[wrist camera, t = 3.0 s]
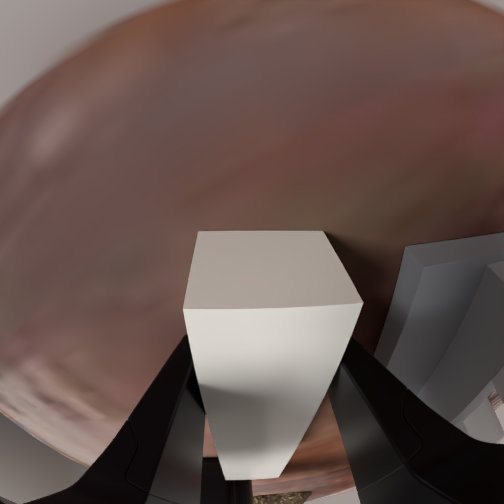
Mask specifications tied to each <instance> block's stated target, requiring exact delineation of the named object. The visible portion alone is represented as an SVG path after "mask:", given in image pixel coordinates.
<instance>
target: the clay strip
mask: <svg viewBox="0 0 504 504" xmlns="http://www.w3.org/2000/svg"><path fill="white" fill-rule="evenodd" d="M362 305H363V301H362V299H361V297H360V296H359V294H358V292H357V290H356V288H355V286H354V284H353V283H352V281H351V279H350V277H349V275H348V274H347V272H346V270H345V268H344V266H343V265H342V263H341V261H340V259H339V258H338V256H337V254H336V252H335V251H334V249H333V247H332V246H331V244H330V242H329V240H328V239H327V237H326V235H325V234H324V232H323V231H199V232H198V236H197V241H196V245H195V250H194V255H193V260H192V265H191V269H190V275H189V280H188V285H187V290H186V295H185V301H184V306H183V312H184V317H185V323H186V328H187V333H188V338H189V343H190V348H191V353H192V358H193V362H194V367H195V371H196V376H197V380H198V384H199V388H200V393H201V397H202V401H203V405H204V408H205V412H206V416H207V420H208V423H209V427H210V431H211V434H212V438H213V441H214V445H215V448H216V451H217V455H218V458H219V461H220V464H221V467H222V470H223V474H224V477H225V480H250V479H267V478H278V477H279V476H280V474H281V472H282V471H283V469H284V468H285V466H286V465H287V463H288V461H289V460H290V458H291V456H292V455H293V453H294V451H295V450H296V448H297V446H298V445H299V443H300V441H301V439H302V438H303V436H304V434H305V432H306V430H307V429H308V427H309V425H310V423H311V421H312V419H313V417H314V416H315V414H316V412H317V410H318V408H319V406H320V404H321V402H322V400H323V398H324V396H325V394H326V392H327V390H328V388H329V385H330V383H331V381H332V379H333V377H334V375H335V372H336V370H337V368H338V366H339V363H340V361H341V359H342V357H343V354H344V352H345V349H346V347H347V345H348V342H349V340H350V337H351V335H352V332H353V330H354V327H355V324H356V322H357V319H358V316H359V314H360V311H361V308H362Z"/></svg>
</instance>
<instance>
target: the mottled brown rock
mask: <svg viewBox="0 0 504 504" xmlns="http://www.w3.org/2000/svg"><path fill="white" fill-rule="evenodd" d="M310 495H311V492H292V493H283V494H270V495H260V496H254V497H253V504H303V503H304V502H305V501H306V500H307V499H308V498H309V496H310Z"/></svg>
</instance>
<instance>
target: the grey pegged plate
mask: <svg viewBox="0 0 504 504" xmlns="http://www.w3.org/2000/svg"><path fill="white" fill-rule="evenodd" d="M374 357H375V358H376V359H377V360H378V361H379V362H381V363H382V364H383V365H384V366H385V367H386V368H387V369H388V370H389V371H390V372H391V373H392V374H393V375H395V376H396V377H397V378H398V379H399V380H400V381H401V382H402V383H403V384H404V385H405V386H406V387H407V389H410V390H411V391H412V392H413V393H414V394H415V395H416V396H417V397H418V398H420V399H421V400H422V401H423V402H424V403H425V404H426V405H428V406H429V407H430V408H431V409H433V410H434V411H435V412H437V413H438V414H439V415H440V416H442V417H443V418H445V419H446V420H447V421H449V422H450V423H452V424H453V425H454V426H456V427H457V428H459V429H460V430H461V431H463V432H464V433H466V434H467V435H469V433H468V431H467V429H466V426H465V424H464V422H463V421H464V420H465V419H466V418H467V417H468V416H469V415H470V414H471V413H472V412H473V411H474V410H475V409H476V408H477V407H478V406H479V405H480V404H481V403H482V402H483V401H484V400H485V399H486V398H487V397H488V396H489V395H490V394H491V393H492V392H493V391H494V389H495V388H496V390H497V392H498V394H499V396H500V397H501V399H502V401H503V403H504V232H503V233H496V234H490V235H483V236H476V237H469V238H462V239H455V240H447V241H440V242H433V243H425V244H418V245H410V246H405V249H404V254H403V259H402V263H401V267H400V271H399V275H398V279H397V283H396V287H395V291H394V294H393V298H392V301H391V305H390V308H389V311H388V315H387V318H386V321H385V324H384V327H383V330H382V333H381V336H380V339H379V342H378V345H377V348H376V350H375V353H374Z"/></svg>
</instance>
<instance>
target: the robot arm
mask: <svg viewBox="0 0 504 504" xmlns="http://www.w3.org/2000/svg"><path fill="white" fill-rule="evenodd" d="M327 392H328V395H329V398H330V401H331V404H332V408H333V411H334V414H335V417H336V420H337V424H338V427H339V430H340V434H341V437H342V440H343V444H344V447H345V450H346V454H347V457H348V460H349V464H350V467H351V471H352V474H353V478H354V481H355V485H356V489H357V491H358V496H359V499H360V503H361V504H504V444H497V443H489V442H483V441H480V440H477V439H474V438H472V437H470V436H469V435H467V434H466V433H464V432H463V431H461V430H460V429H459V428H457V427H456V426H454V425H453V424H452V423H450V422H449V421H447V420H446V419H445V418H443V417H442V416H440V415H439V414H438V413H437V412H435V411H434V410H433V409H431V408H430V407H429V406H428V405H426V404H425V403H424V402H423V401H422V400H421V399H420V398H418V397H417V396H416V395H415V394H414V393H413V392H412V391H411V390H410V389H407V387H406V386H405V385H404V384H403V383H402V382H401V381H400V380H399V379H398V378H397V377H396V376H395V375H393V374H392V373H391V372H390V371H389V370H388V369H387V368H386V367H385V366H384V365H383V364H382V363H381V362H379V361H378V360H377V359H376V358H375V357H374V356H373V355H372V354H371V353H370V352H369V351H368V350H366V349H365V348H364V347H363V346H362V345H361V344H360V343H359V342H358V341H357V340H356V339H355V338H353V337H352V336H351V337H350V340H349V342H348V345H347V347H346V349H345V352H344V354H343V357H342V359H341V361H340V363H339V366H338V368H337V370H336V372H335V375H334V377H333V379H332V381H331V383H330V385H329V388H328V390H327ZM205 414H206V412H205V408H204V405H203V401H202V397H201V393H200V388H199V384H198V380H197V376H196V371H195V367H194V362H193V358H192V353H191V348H190V343H189V338H188V334H187V335H185V336H184V337H183V338H182V340H181V341H180V343H179V344H178V346H177V347H176V348H175V350H174V351H173V353H172V354H171V356H170V357H169V359H168V360H167V362H166V363H165V365H164V366H163V367H162V369H161V370H160V372H159V373H158V375H157V376H156V378H155V379H154V381H153V382H152V384H151V385H150V387H149V388H148V390H147V391H146V392H145V394H144V395H143V397H142V398H141V400H140V401H139V403H138V404H137V406H136V407H135V409H134V410H133V412H132V413H131V415H130V416H129V418H128V420H127V421H126V422H125V423H124V425H123V426H122V428H121V429H120V431H119V432H118V433H117V435H116V436H115V438H114V439H113V440H112V442H111V443H110V444H109V445H108V447H107V448H106V449H105V450H104V452H103V453H102V454H101V455H100V456H99V457H98V459H97V460H96V461H95V462H94V463H93V464H92V465H91V467H90V468H89V469H88V470H87V471H86V472H85V474H84V475H83V476H82V477H81V478H80V479H79V480H78V481H77V482H76V483H74V484H73V485H72V486H70V487H68V488H67V489H65V490H62V491H60V492H57V493H54V494H51V495H49V496H46V497H43V498H40V499H37V500H34V501H30V502H27V503H24V504H253V494H252V481H251V479H250V480H225V477H224V474H223V470H222V467H221V464H220V461H219V459H202V456H203V441H204V427H205ZM0 504H16V503H14V502H12V501H9V500H7V499H5V498H3V497H1V496H0Z"/></svg>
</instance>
